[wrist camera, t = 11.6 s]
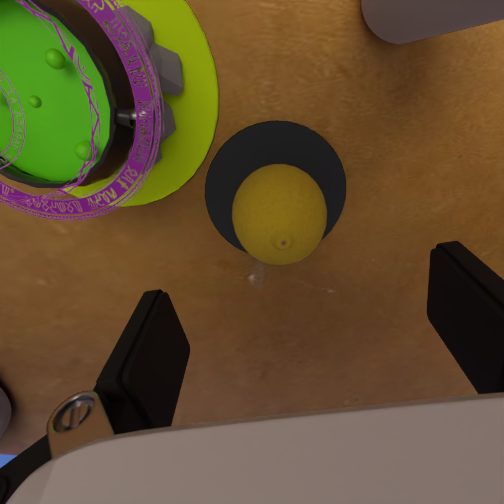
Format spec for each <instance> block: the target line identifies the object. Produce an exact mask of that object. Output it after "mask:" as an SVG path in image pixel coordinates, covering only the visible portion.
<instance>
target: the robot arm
mask: <svg viewBox="0 0 504 504" xmlns="http://www.w3.org/2000/svg"><path fill="white" fill-rule="evenodd" d="M427 316H428V319H429V321H430V322H431V324H432V325H433V327H434V328H435V330H436V331H437V333H438V334H439V336H440V337H441V339H442V340H443V342H444V343H445V345H446V346H447V348H448V349H449V351H450V352H451V354H452V355H453V357H454V358H455V360H456V361H457V363H458V364H459V366H460V367H461V369H462V370H463V372H464V373H465V374H466V376H467V377H468V379H469V380H470V382H471V383H472V385H473V386H474V388H475V389H476V391H477V392H478V394H477V395H465V396H453V397H442V398H432V399H422V400H412V401H402V402H392V403H382V404H372V405H362V406H352V407H343V408H333V409H324V410H314V411H304V412H295V413H286V414H276V415H267V416H258V417H249V418H240V419H231V420H222V421H213V422H204V423H195V424H186V425H178V426H171V424H172V420H173V416H174V413H175V409H176V405H177V401H178V397H179V393H180V389H181V386H182V382H183V378H184V374H185V370H186V366H187V362H188V359H189V355H190V345H189V342H188V340H187V338H186V335H185V333H184V330H183V328H182V326H181V323H180V321H179V319H178V316H177V314H176V312H175V309H174V307H173V304H172V302H171V300H170V297H169V295H168V293H166V292H164V293H163V291H162V290H160V289H159V290H152V291H146V292H145V293H144V294H143V296H142V297H141V299H140V301H139V303H138V305H137V307H136V309H135V310H134V312H133V314H132V316H131V318H130V320H129V322H128V323H127V325H126V327H125V329H124V331H123V333H122V335H121V336H120V338H119V340H118V342H117V344H116V346H115V348H114V349H113V351H112V353H111V355H110V357H109V359H108V361H107V362H106V364H105V366H104V368H103V370H102V372H101V374H100V375H99V377H98V379H97V381H96V383H97V384H96V386H95V388H94V389H93V391H91V390H89V391H82V392H78V393H76V394H74V395H72V396H70V397H68V398H67V399H66V400H64V401H63V402H62V403H61V404H60V405H59V406H58V407H57V408H56V409H55V410H54V411H53V413H52V414H51V416H50V417H49V420H48V422H47V427H46V432H47V435H45V436H44V437H43V438H41V439H40V440H38V441H37V442H36V443H34V444H33V445H32V446H30V447H29V448H27V449H26V450H25V451H23V452H22V453H21V454H19V455H18V456H17V457H15V458H14V459H12V460H11V461H10V462H8V463H7V464H6V465H4V466H3V467H1V468H0V504H504V280H503V279H502V278H501V277H499V276H498V275H497V274H496V273H495V272H494V271H492V270H491V269H490V268H489V267H488V266H487V265H485V264H484V263H483V262H482V261H481V260H480V259H478V258H477V257H476V256H475V255H474V254H473V253H471V252H470V251H469V250H468V249H467V248H466V247H465V246H463V245H462V244H461V243H460V242H458V241H452V242H445V243H439V244H437V245H436V248H435V249H432V250H431V253H430V268H429V284H428V299H427Z"/></svg>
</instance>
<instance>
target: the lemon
mask: <svg viewBox="0 0 504 504" xmlns="http://www.w3.org/2000/svg"><path fill="white" fill-rule="evenodd" d="M326 220H327V208H326V204H325V199H324V196H323V193H322V192H321V190H320V188H319V186H318V184H317V183H316V182H315V181H314V180H313V179H312V178H311V177H310V176H309V175H308V174H307V173H306V172H304V171H302V170H300V169H299V168H297V167H294V166H290V165H286V164H272V165H268V166H264V167H262V168H260V169H258V170H256V171H254V172H252V173H251V174H250V175H249V176H248V177H247V178H246V179H245V180H244V181H243V182H242V184H241V186H240V187H239V189H238V190H237V192H236V195H235V199H234V202H233V207H232V221H233V225H234V229H235V233H236V235H237V237H238V239H239V241H240V243H241V245H242V246H243V247H244V249H245V250H246V251H247V252H248V253H249V254H250V255H251V256H253V257H255V258H256V259H258V260H259V261H262V262H264V263H267V264H272V265H288V264H292V263H295V262H298V261H300V260H302V259H304V258H305V257H307V256H308V255H309V254H310V253H311V252H313V251H314V250H315V248H316V247H317V245H318V244H319V242H320V241H321V239H322V237H323V234H324V231H325V228H326Z"/></svg>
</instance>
